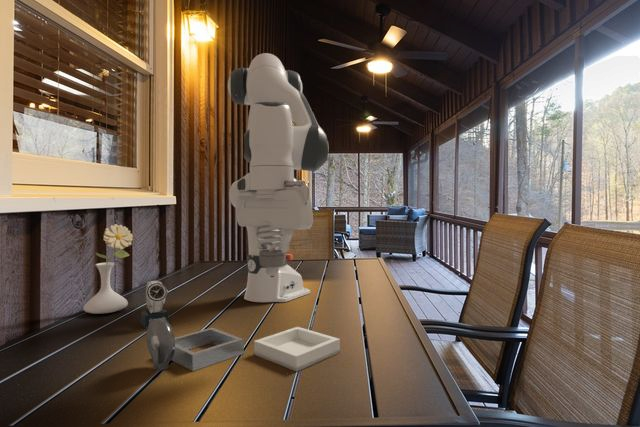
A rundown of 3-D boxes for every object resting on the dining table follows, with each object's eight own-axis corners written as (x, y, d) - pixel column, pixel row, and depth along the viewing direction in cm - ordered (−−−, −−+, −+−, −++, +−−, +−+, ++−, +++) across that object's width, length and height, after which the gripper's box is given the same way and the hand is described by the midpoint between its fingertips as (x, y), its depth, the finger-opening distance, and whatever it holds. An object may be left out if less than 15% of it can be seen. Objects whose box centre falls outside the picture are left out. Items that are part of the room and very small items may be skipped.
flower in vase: (82, 319, 108) (79, 226, 107) (84, 309, 118) (82, 224, 117) (135, 312, 114) (133, 224, 113) (133, 303, 124) (131, 222, 123)
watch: (147, 330, 98) (146, 285, 98) (139, 322, 105) (138, 280, 105) (170, 325, 102) (169, 282, 101) (161, 318, 108) (160, 277, 108)
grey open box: (212, 340, 90) (211, 300, 90) (243, 353, 83) (243, 309, 82) (141, 362, 79) (140, 315, 78) (169, 379, 71) (168, 327, 71)
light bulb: (259, 274, 84) (259, 217, 84) (286, 274, 85) (286, 217, 84) (257, 279, 79) (257, 218, 78) (286, 279, 79) (286, 218, 79)
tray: (297, 338, 91) (297, 326, 91) (340, 352, 83) (339, 338, 83) (254, 354, 82) (253, 340, 82) (296, 371, 74) (296, 356, 73)
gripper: (320, 180, 76) (320, 253, 77) (254, 184, 90) (255, 245, 91) (295, 179, 72) (296, 256, 72) (230, 183, 86) (231, 248, 86)
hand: (272, 250), depth 82 cm, fingers closed on light bulb, 5 cm apart
